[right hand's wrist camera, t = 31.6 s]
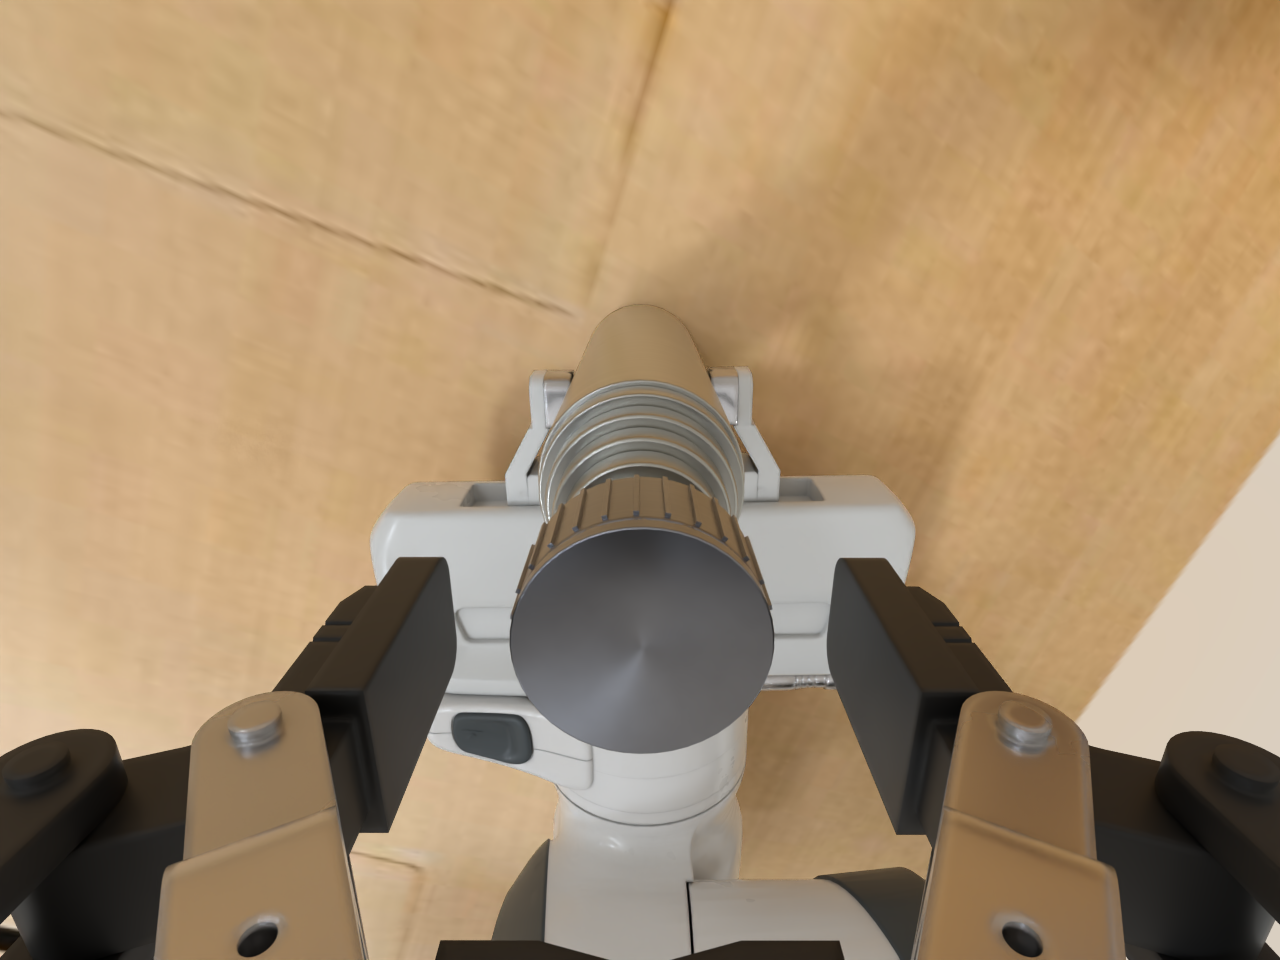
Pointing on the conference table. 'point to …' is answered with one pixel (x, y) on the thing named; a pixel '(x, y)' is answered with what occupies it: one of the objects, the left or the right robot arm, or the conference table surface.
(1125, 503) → the conference table surface
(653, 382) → the bottle
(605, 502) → the cap
